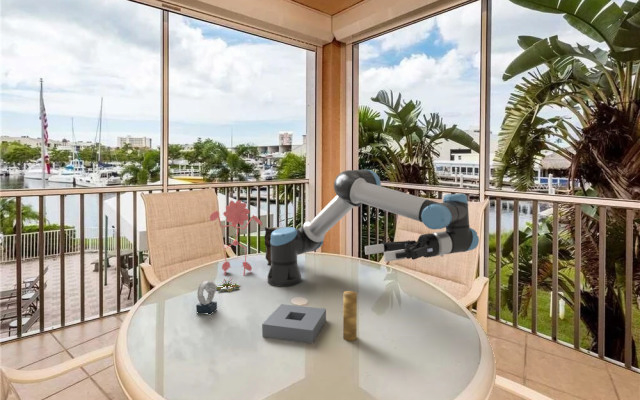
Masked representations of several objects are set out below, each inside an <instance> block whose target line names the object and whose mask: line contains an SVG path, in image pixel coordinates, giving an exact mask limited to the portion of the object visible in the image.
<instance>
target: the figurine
mask: <svg viewBox="0 0 640 400" xmlns="http://www.w3.org/2000/svg"><path fill="white" fill-rule="evenodd" d="M250 213H251V211H250V209H249V208H247V203H245V202H242V201H241V200H240V199H239V200H236V202H235V201H233V200H230V201H229V204H228V205H226V206H225V211H224V212H223V213H222V214H223V216H224V217H226V222H227V223H231V224H230V225H227V224H226V225H222V223H221V219H220V218H221V217H220V213H219V211H218V210H215V211H213V212H212V213H211V214H210V215H209V219H210V221H211V222H213V221H215V220H217V219H218V222H219V226H220V228H227V227H233V228H235V229H236V230H237V231H236V236H235V239H234V240H232V243H231V244H229V245H228V246H226V247H224V250H223V254H224V259H225V261H224V262H223V264H222V265H221V269H222V270H223V271H224V276H226V275H227V270H229V269H230V268H231V263H230V261H227V258H226V252H225V250H226V249H228V248H229V247H231V246H235V247H236V246H238V245H239V246H240V247H242V248H244V249H245V251H247V247H245V246H243V245H242V244H240V243H239V241H238V239H237V237H238V234H239V232H240V230H239V229H241V230H245V229H246V228H247V227H248V225H249V223H250V222H251V221H252V220H253V221H254V222H255V223H257V224H258V225H259V226H263V222H262V221H261V220H260V218H259V217H257V216H256V215H254V214H253V215H252V216H251V218H250V219H249V214H250ZM245 221H248V222H247V223H246V224H245ZM244 224H245V226H244V227H241V226H243V225H244ZM237 225H241V226H237ZM244 254H245V255H244V256H245V259H244V260H245V261H243V262H242V267H243V276H245V274H246V270H247V271H249V272H251V271H252V270H253V268H252V266H251V264H250V263H249V262H247V253H244Z"/></svg>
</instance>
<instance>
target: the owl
mask: <svg viewBox="0 0 640 400" xmlns="http://www.w3.org/2000/svg"><path fill="white" fill-rule="evenodd" d="M285 227H286V226H285ZM285 227H283V226H280V227H279V226H274V227H266V226H265V227H264V231H265V233H264V245H265V248H266V250H265V259H266V261H267V266H269V267H271V243H270V240H271V233H272V232H273V231H274V230H276V229H279V228H285Z"/></svg>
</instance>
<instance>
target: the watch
mask: <svg viewBox="0 0 640 400" xmlns="http://www.w3.org/2000/svg"><path fill="white" fill-rule="evenodd" d="M217 286H218V285H216V283H215V282H213V281H212V280H204V281H202V282H201V283H200V284H199V285H198V288H197V300H198V303H197V304H196V306H195V308H196V310H195V311H196V313H197V312H198V313H208V314H211V313H212V312H214V311H215V310H216V309H217V310H218V304H217V303H218V301H215V300H214V301H213V299H214V297H215V294H216V292H217V290H216V288H217ZM204 290H205V291H206V293H207V294H208V295H207V297H206V298H205V296H204ZM217 310H216V311H217ZM216 311H215V312H216ZM215 312H214V313H215ZM211 315H212V314H211Z"/></svg>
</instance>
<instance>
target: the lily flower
mask: <svg viewBox="0 0 640 400" xmlns="http://www.w3.org/2000/svg"><path fill="white" fill-rule="evenodd" d="M232 280H233V278H230V279H229V280H227V279H225V278H224V279H223V281H222V284H220V285H218V286H223V287H225V286H226V288H225V289H223V291H225V290H227V289H229V290H227V292H229V291H230V292H229V293H231V292H232V291H233V290H234V287H236V288H237V289H239V290H238V291H240V290H241V289H240V288H239V287H240V285H239V284H237V283H234V284H235V285H232V284H233V281H232ZM231 285H232V286H231ZM228 286H230V287H233V288H231V289H230V287H228ZM223 287H217V288H216V289H217V290H218V291H219V290H220V289H221V288H223ZM218 291H217V292H218Z"/></svg>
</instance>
